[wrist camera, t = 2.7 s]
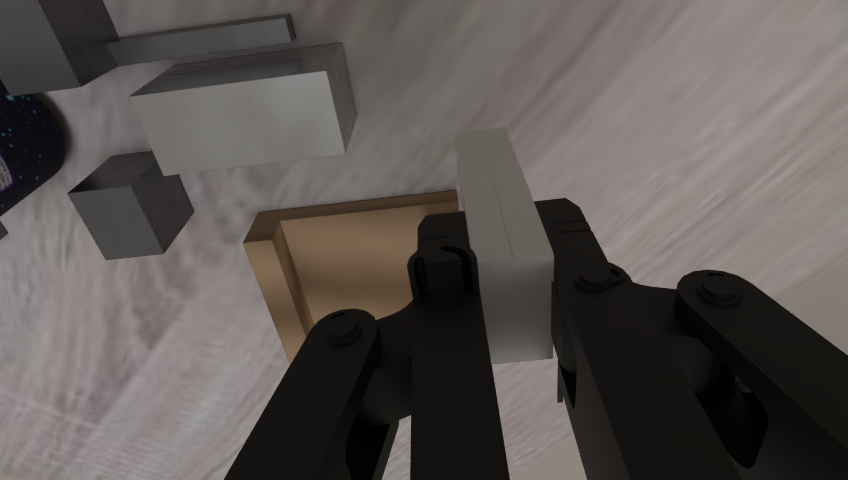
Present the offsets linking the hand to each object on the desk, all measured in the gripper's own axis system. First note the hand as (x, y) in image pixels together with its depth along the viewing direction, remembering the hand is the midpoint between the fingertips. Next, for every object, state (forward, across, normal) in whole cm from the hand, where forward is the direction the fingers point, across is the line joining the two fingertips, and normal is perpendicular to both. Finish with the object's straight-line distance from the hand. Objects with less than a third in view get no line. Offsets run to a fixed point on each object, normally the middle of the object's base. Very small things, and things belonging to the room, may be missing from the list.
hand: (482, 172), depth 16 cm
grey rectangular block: (+11, -9, 0) cm, 14 cm away
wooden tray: (+11, -6, -10) cm, 16 cm away
